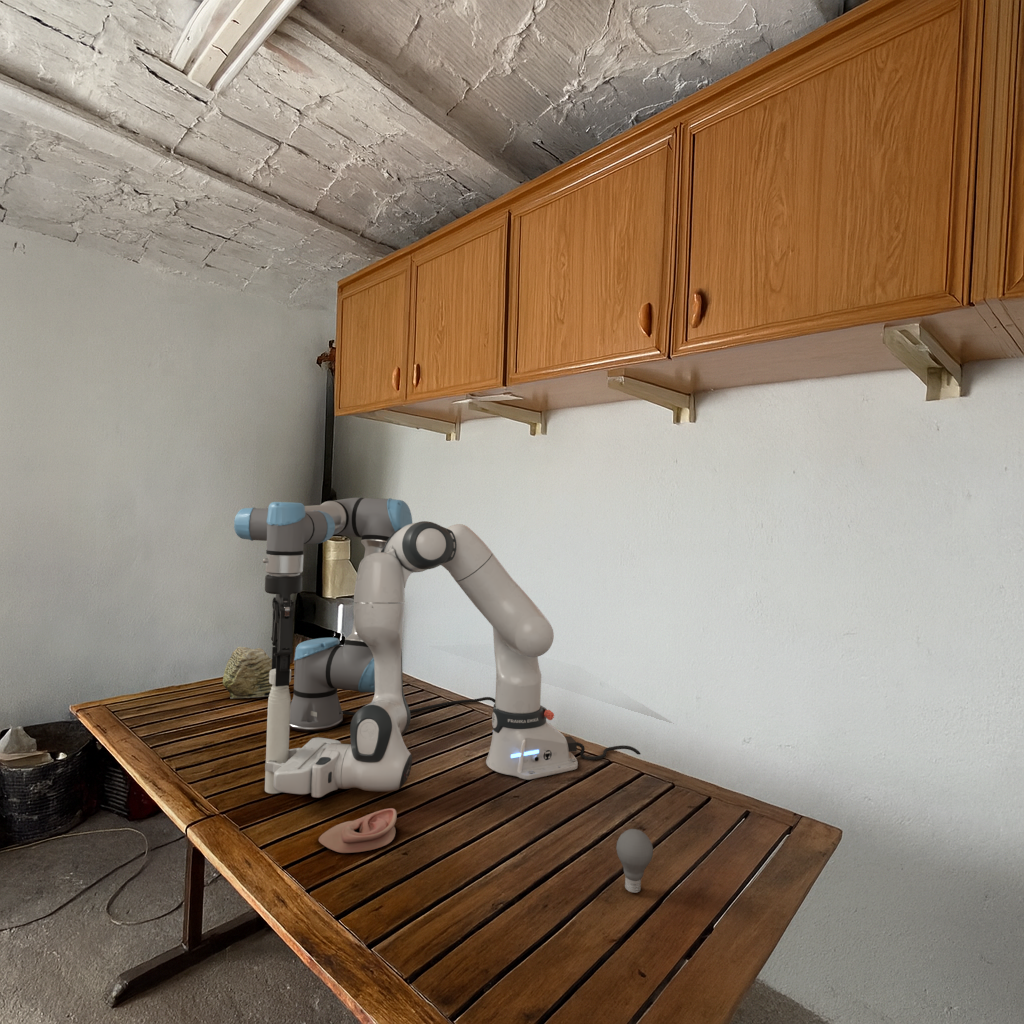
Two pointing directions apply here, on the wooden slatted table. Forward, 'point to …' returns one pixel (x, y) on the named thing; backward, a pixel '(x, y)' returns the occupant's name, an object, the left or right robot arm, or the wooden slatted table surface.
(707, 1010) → the wooden slatted table surface
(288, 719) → the bottle
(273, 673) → the cap
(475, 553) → the right robot arm
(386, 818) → the anatomical model
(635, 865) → the light bulb
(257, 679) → the fossil
